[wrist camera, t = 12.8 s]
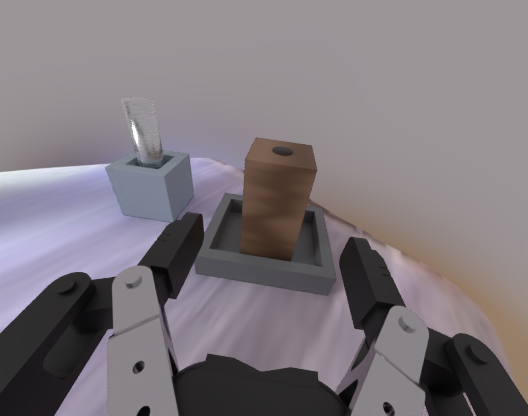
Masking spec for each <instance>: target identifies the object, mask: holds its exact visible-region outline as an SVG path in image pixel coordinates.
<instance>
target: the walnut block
mask: <svg viewBox="0 0 528 416" xmlns="http://www.w3.org/2000/svg"><path fill="white" fill-rule="evenodd" d="M316 172H317V167H316V162H315V158H314V153H313V149H312V146H311V145H305V144H297V143H291V142H284V141H277V140H270V139H263V138H255V140H254V142H253V144H252V146H251V148H250V151H249V152H248V155H247V156H246V159H245V171H244V189H243V208H242V226H241V245H240V254H246V255H252V256H258V257H265V258H271V259H277V260H283V261H289V262H291V260H292V256H293V253H294V249H295V246H296V242H297V239H298V235H299V232H300V228H301V225H302V221H303V218H304V214H305V211H306V207H307V204H308V200H309V197H310V193H311V190H312V186H313V183H314V179H315V175H316Z"/></svg>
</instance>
